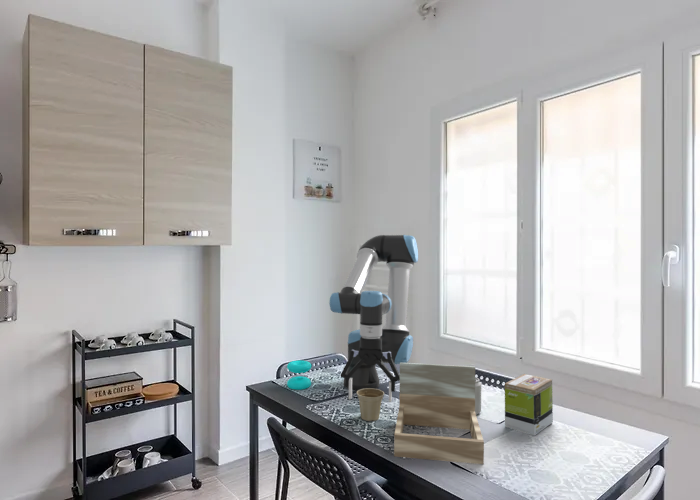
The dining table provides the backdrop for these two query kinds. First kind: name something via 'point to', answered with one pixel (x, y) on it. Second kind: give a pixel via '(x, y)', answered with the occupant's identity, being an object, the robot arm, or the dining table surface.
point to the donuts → (299, 381)
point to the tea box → (528, 404)
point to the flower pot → (370, 403)
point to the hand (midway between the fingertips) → (370, 399)
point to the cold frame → (438, 413)
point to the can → (477, 396)
